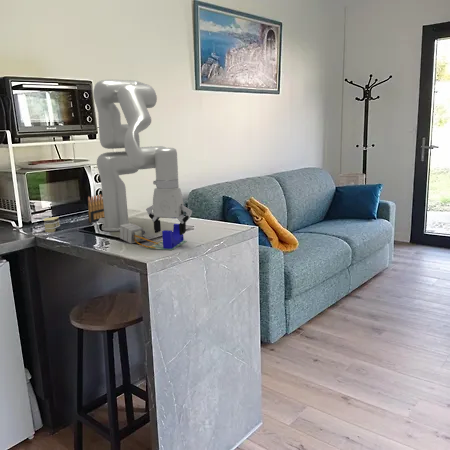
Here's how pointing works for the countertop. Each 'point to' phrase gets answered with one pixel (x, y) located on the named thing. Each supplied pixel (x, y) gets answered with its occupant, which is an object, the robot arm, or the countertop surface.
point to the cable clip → (172, 237)
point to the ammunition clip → (95, 208)
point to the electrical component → (133, 234)
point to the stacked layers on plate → (51, 224)
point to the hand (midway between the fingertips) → (169, 233)
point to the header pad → (162, 246)
